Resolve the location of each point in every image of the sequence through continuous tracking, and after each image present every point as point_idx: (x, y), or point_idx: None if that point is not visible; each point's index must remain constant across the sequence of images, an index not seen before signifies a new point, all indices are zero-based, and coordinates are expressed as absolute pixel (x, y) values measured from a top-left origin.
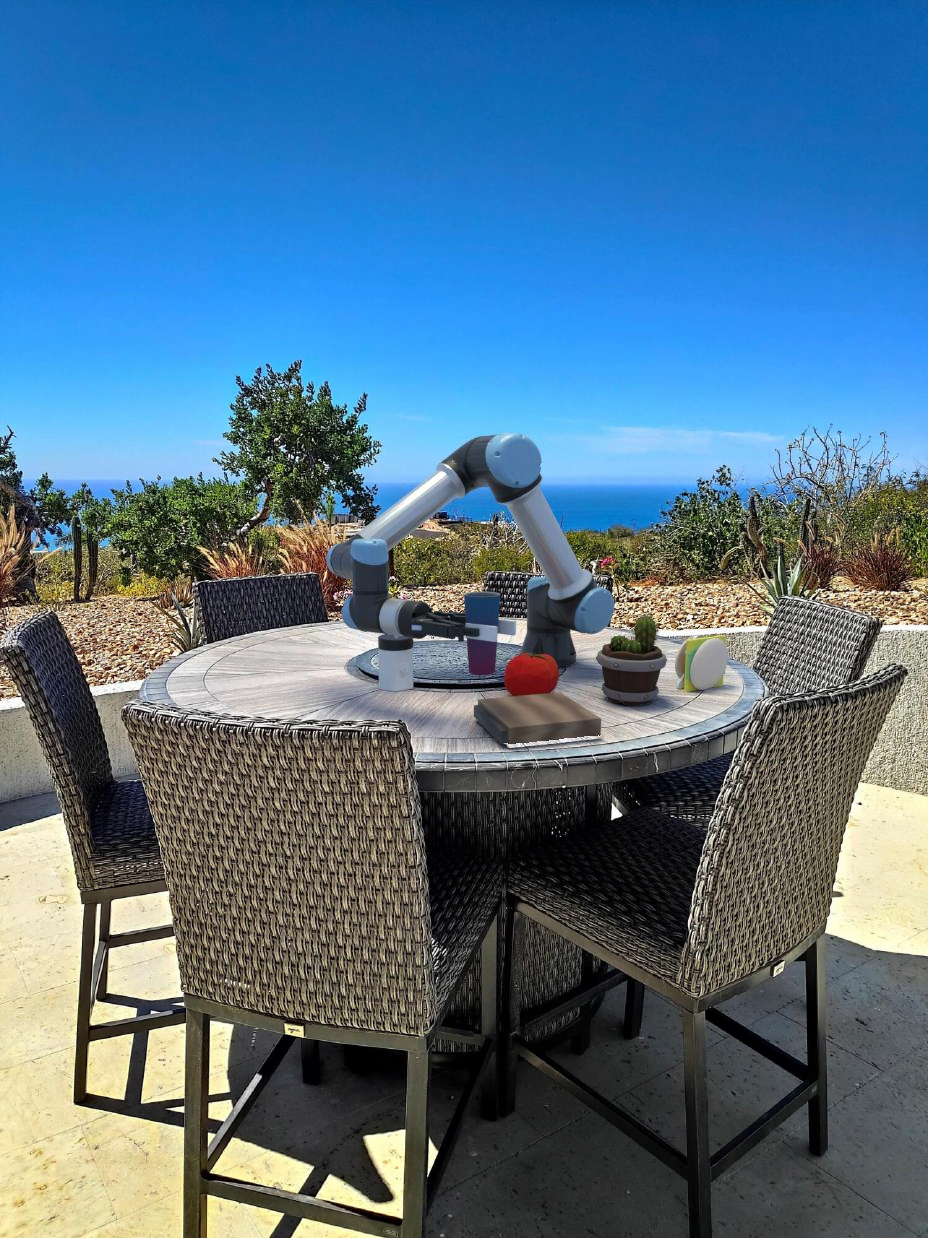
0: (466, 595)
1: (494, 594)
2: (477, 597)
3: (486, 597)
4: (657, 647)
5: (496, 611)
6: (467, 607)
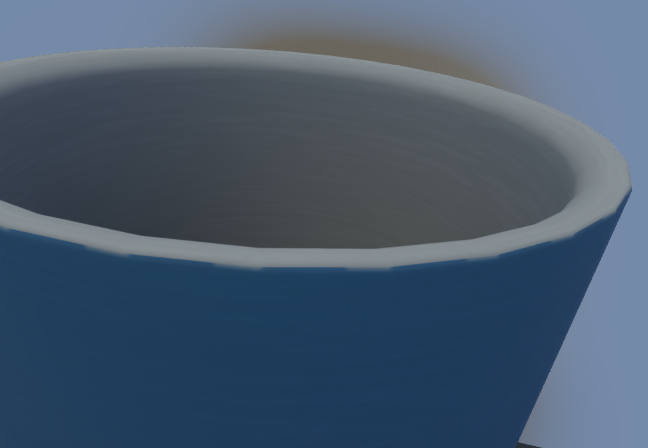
0: (609, 200)
1: (97, 82)
2: (571, 130)
3: (490, 95)
4: None
5: (325, 225)
6: (533, 406)
